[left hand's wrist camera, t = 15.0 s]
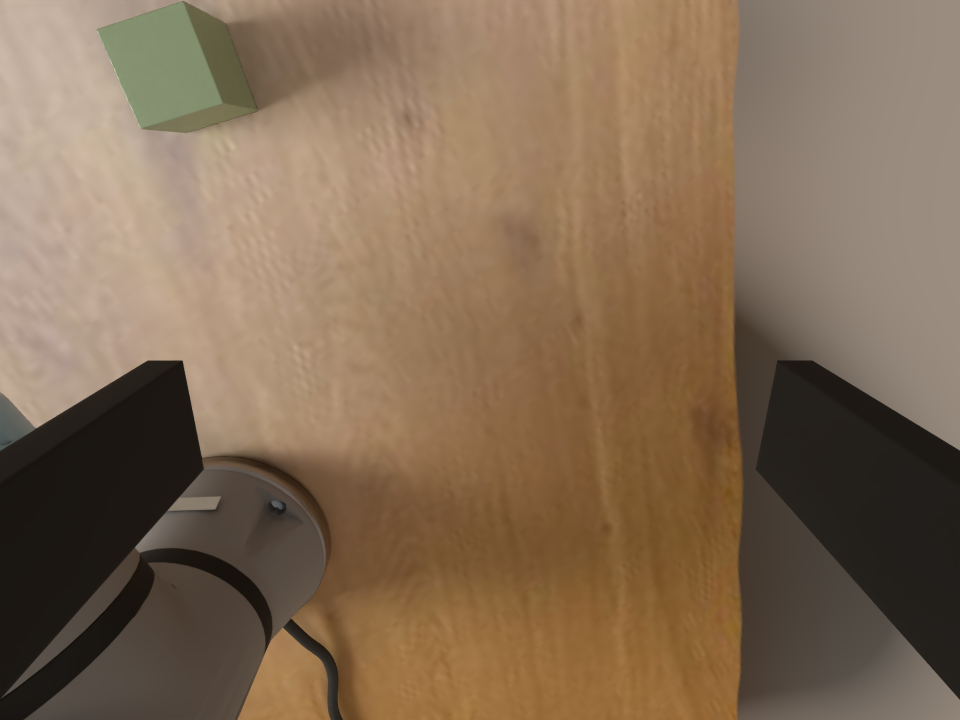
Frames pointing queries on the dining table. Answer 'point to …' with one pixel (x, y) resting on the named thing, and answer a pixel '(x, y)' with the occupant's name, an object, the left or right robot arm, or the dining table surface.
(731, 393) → the dining table surface
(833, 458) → the left robot arm
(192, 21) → the sage block
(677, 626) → the dining table surface
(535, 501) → the dining table surface
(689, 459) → the dining table surface
